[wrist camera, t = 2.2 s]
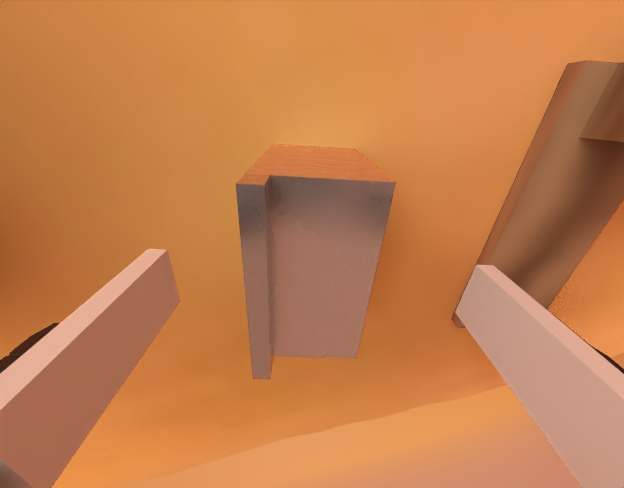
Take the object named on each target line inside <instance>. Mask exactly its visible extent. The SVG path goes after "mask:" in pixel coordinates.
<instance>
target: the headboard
mask: <svg viewBox="0 0 624 488" xmlns="http://www.w3.org/2000/svg"><path fill="white" fill-rule="evenodd" d="M623 199H624V63H610V62H598V61H581V62H575V63H569V64H568V65H567V67H566V69H565V71H564V74H563V76H562V78H561V80H560V82H559V85H558V87H557V89H556V91H555V93H554V95H553V98H552V100H551V102H550V104H549V106H548V109H547V111H546V113H545V115H544V117H543V120H542V122H541V124H540V126H539V128H538V131H537V133H536V135H535V137H534V139H533V141H532V144H531V146H530V148H529V150H528V152H527V155H526V157H525V159H524V161H523V163H522V166H521V168H520V170H519V172H518V174H517V177H516V179H515V181H514V183H513V185H512V187H511V190H510V192H509V194H508V196H507V198H506V201H505V203H504V205H503V207H502V209H501V212H500V214H499V216H498V218H497V220H496V223H495V225H494V227H493V229H492V231H491V233H490V236H489V238H488V240H487V242H486V244H485V247H484V249H483V251H482V253H481V255H480V258H479V260H478V262H477V264H476V265H494V266H495V267H496V268H497V269H498V270H500V271H501V272H502V273H503V274H504V275H506V276H507V277H508V278H509V279H510V280H512V281H513V282H514V283H515V284H516V285H518V286H519V287H520V288H521V289H522V290H524V291H525V292H526V293H527V294H528V295H530V296H531V297H532V298H533V299H534V300H536V301H537V302H538V303H539V304H540V305H542V306H543V307H544V308H545V309H546V310H547V309H548V307H549V306H550V304H551V303H552V302H553V300H554V299H555V297H556V296H557V294H558V293H559V292H560V290H561V289H562V287H563V286H564V284H565V283H566V281H567V280H568V279H569V277H570V276H571V274H572V273H573V271H574V270H575V268H576V267H577V266H578V264H579V263H580V261H581V260H582V258H583V257H584V256H585V254H586V253H587V251H588V250H589V248H590V247H591V245H592V244H593V243H594V241H595V240H596V238H597V237H598V235H599V234H600V232H601V231H602V230H603V228H604V227H605V225H606V224H607V222H608V221H609V220H610V218H611V217H612V215H613V214H614V212H615V211H616V209H617V208H618V207H619V205H620V204H621V202H622V201H623ZM475 267H476V266H475ZM474 269H475V268H474ZM470 278H471V277H470ZM469 280H470V279H469ZM466 287H467V286H466ZM465 289H466V288H465ZM464 291H465V290H464ZM462 296H463V295H462ZM461 298H462V297H461ZM460 300H461V299H460ZM459 302H460V301H459ZM457 307H458V306H457ZM456 309H457V308H456ZM455 311H456V310H455ZM549 312H550V311H549ZM550 313H551V312H550ZM551 314H552V313H551ZM552 315H553V314H552ZM554 316H555V315H554ZM555 317H556V316H555ZM556 318H557V317H556ZM557 319H558V318H557ZM452 320H453V322H454V323H455V325H456V326H457V327H462V328H466V327H465V325H464V324H463V323H462V321H461V320H460V319H459V317H458V316H457V314H456V313H455V312H454V314H453V317H452ZM558 320H559V319H558ZM560 321H561V320H560ZM561 322H562V321H561ZM562 323H563V322H562ZM563 324H564V323H563ZM564 325H565V324H564ZM565 326H567V325H565ZM567 327H568V326H567ZM568 328H569V327H568ZM569 329H570V328H569ZM570 330H571V329H570ZM571 331H573V330H571ZM573 332H574V331H573ZM574 333H575V332H574ZM575 334H576V333H575ZM576 335H577V336H579V335H578V334H576ZM579 337H580V336H579ZM580 338H581V337H580ZM581 339H582V338H581ZM582 340H583V341H585V340H584V339H582ZM585 342H586V341H585ZM586 343H587V342H586ZM587 344H588V343H587ZM589 345H590V344H589Z"/></svg>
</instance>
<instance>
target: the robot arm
mask: <svg viewBox="0 0 624 488" xmlns="http://www.w3.org/2000/svg"><path fill="white" fill-rule="evenodd" d="M179 302H180V299H179V295H178V291H177V287H176V283H175V279H174V275H173V271H172V267H171V263H170V259H169V255H168V251H167V250H164V249H147V250H146V251H145V252H144V253H143V254H141V255H140V256H139V257H138V258H137V259H136V260H134V261H133V262H132V263H131V264H130V265H128V266H127V267H126V268H125V269H124V270H123V271H121V272H120V273H119V274H118V275H117V276H115V277H114V278H113V279H112V280H111V281H110V282H108V283H107V284H106V285H105V286H104V287H102V288H101V289H100V290H99V291H98V292H96V293H95V294H94V295H93V296H92V297H91V298H89V299H88V300H87V301H86V302H85V303H83V304H82V305H81V306H80V307H79V308H78V309H76V310H75V311H74V312H73V313H72V314H70V315H69V316H68V317H67V318H66V319H64V320H63V321H62V322H61V323H54V324H52V325H50V326H48V327H46V328H45V329H43V330H41V331H39V332H37V333H36V334H34V335H32V336H30V337H29V338H28V339H27V340H25V341H24V342H23V343H22V344H20V345H19V346H18V347H17V348H15V349H14V350H13V351H12V352H10V355H9V356H5V357H4V358H3V359H2V360H0V488H52V486H53V485H54V483H55V482H56V480H57V479H58V477H59V476H60V475H61V473H62V472H63V470H64V469H65V467H66V466H67V464H68V463H69V461H70V460H71V459H72V457H73V456H74V454H75V453H76V451H77V450H78V448H79V447H80V446H81V444H82V443H83V441H84V440H85V438H86V437H87V435H88V434H89V432H90V431H91V430H92V428H93V427H94V425H95V424H96V422H97V421H98V419H99V418H100V416H101V415H102V414H103V412H104V411H105V409H106V408H107V406H108V405H109V403H110V402H111V401H112V399H113V398H114V396H115V395H116V393H117V392H118V390H119V389H120V387H121V386H122V385H123V383H124V382H125V380H126V379H127V377H128V376H129V374H130V373H131V371H132V370H133V369H134V367H135V366H136V364H137V363H138V361H139V360H140V358H141V357H142V356H143V354H144V353H145V351H146V350H147V348H148V347H149V345H150V344H151V342H152V341H153V340H154V338H155V337H156V335H157V334H158V332H159V331H160V329H161V328H162V326H163V325H164V324H165V322H166V321H167V319H168V318H169V316H170V315H171V313H172V312H173V310H174V309H175V308H176V306H177V305H178V303H179ZM455 313H456V314H457V316H458V317H459V319H460V320H461V321H462V323H463V324H464V325H465V327H466V328H467V330H468V331H469V332H470V334H471V335H472V337H473V338H474V339H475V341H476V342H477V343H478V345H479V346H480V348H481V349H482V350H483V352H484V353H485V354H486V356H487V357H488V359H489V360H490V361H491V363H492V364H493V366H494V367H495V368H496V370H497V371H498V372H499V374H500V375H501V377H502V378H503V379H504V381H505V382H506V383H507V385H508V386H509V387H510V389H511V390H512V392H513V393H514V394H515V396H516V397H517V399H518V400H519V401H520V403H521V404H522V405H523V407H524V408H525V410H526V411H527V412H528V414H529V415H530V417H531V418H532V419H533V421H534V422H535V423H536V424H537V426H538V428H539V429H540V430H541V432H542V433H543V434H544V436H545V437H546V439H547V440H548V441H549V443H550V444H551V446H552V447H553V448H554V450H555V451H556V452H557V453H558V455H559V457H560V458H561V459H562V460H563V462H564V463H565V465H566V466H567V467H568V469H569V470H570V472H571V473H572V474H573V476H574V477H575V479H576V480H577V481H578V483H579V484H580V486H581V487H582V488H624V369H623V368H622V367H620V366H619V365H618V364H617V363H616V362H614V361H613V360H612V359H611V358H610V357H608V356H607V355H605V354H604V353H602V352H600V351H599V350H597V349H595V348H594V347H592V346H591V345H589V344H587V343H586V342H585V341H583V340H582V339H581V338H580V337H579V336H577V335H576V334H575V333H574V332H573V331H571V330H570V329H569V328H568V327H567V326H565V325H564V324H563V323H562V322H561V321H560V320H558V319H557V318H556V317H555V316H554V315H552V314H551V313H550V312H549V311H548V310H546V309H545V308H544V307H543V306H542V305H540V304H539V303H538V302H537V301H536V300H534V299H533V298H532V297H531V296H530V295H528V294H527V293H526V292H525V291H524V290H522V289H521V288H520V287H519V286H518V285H516V284H515V283H514V282H513V281H512V280H510V279H509V278H508V277H507V276H506V275H504V274H503V273H502V272H501V271H500V270H498V269H497V268H496V267H495V266H494V265H476V267H475V269H474V271H473V273H472V275H471V278H470V280H469V282H468V284H467V287H466V289H465V291H464V293H463V296H462V298H461V300H460V302H459V304H458V307H457V309H456V311H455Z"/></svg>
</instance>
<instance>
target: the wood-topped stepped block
mask: <svg viewBox="0 0 624 488" xmlns="http://www.w3.org/2000/svg"><path fill="white" fill-rule="evenodd" d="M395 183H396V182H395V181H393V180H392V179H391V178H390V177H389V176H387V175H386V174H385V173H384V172H382V171H381V170H380V169H379V168H377V167H376V166H375V165H374V164H372V163H371V162H370V161H369V160H368V159H366V158H365V157H364V156H363V155H361V154H360V153H359V152H358V151H356V150H355V149H348V148H332V147H316V146H300V145H284V144H273V145H272V146H271V147H270V148H269V149H268V150H267V151H266V152H265V153H264V154H263V155H262V156H261V157H260V158H259V159H258V161H257V162H256V163H255V164H254V165H253V166H252V167H251V168H250V169H249V170H248V171H247V172H246V173H245V174H244V176H243V177H242V178H241V179H240V180H239V181H238V182H237V183H236V191H237V202H238V213H239V225H240V236H241V248H242V259H243V270H244V282H245V293H246V304H247V316H248V327H249V338H250V350H251V361H252V373H253V379H271V372H272V365H273V357H274V356H292V357H344V358H356V357H357V352H358V348H359V343H360V339H361V334H362V330H363V326H364V321H365V317H366V312H367V308H368V303H369V299H370V294H371V290H372V285H373V281H374V277H375V272H376V268H377V263H378V259H379V254H380V250H381V245H382V241H383V237H384V232H385V228H386V223H387V219H388V214H389V210H390V205H391V201H392V197H393V192H394V188H395Z"/></svg>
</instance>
